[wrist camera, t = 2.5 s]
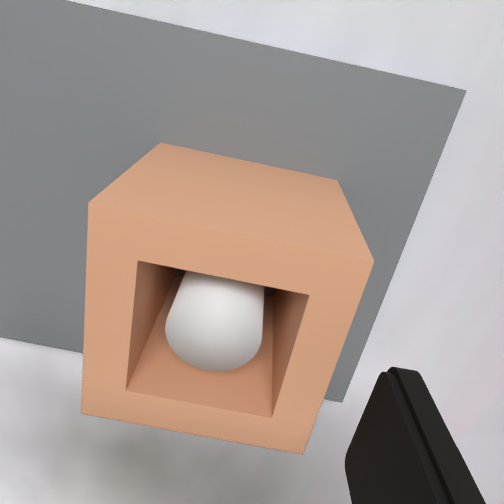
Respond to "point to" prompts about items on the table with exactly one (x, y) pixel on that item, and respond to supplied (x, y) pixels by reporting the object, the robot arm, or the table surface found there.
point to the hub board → (197, 138)
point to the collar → (227, 266)
